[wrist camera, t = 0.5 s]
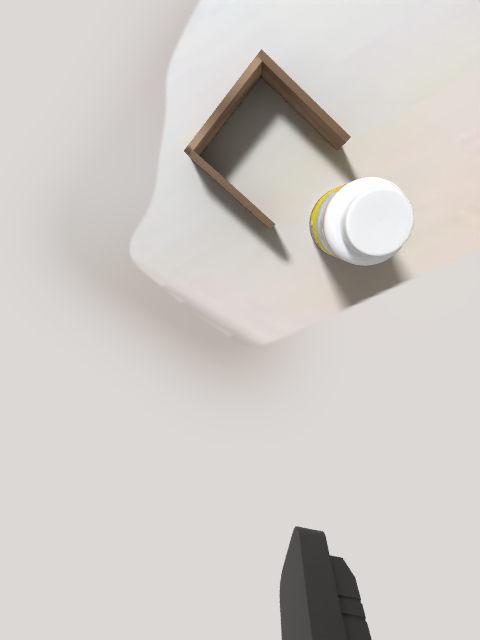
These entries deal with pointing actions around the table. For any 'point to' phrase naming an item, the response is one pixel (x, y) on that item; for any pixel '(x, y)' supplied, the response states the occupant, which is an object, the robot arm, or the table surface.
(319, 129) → the walnut u rest
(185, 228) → the table surface
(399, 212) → the supplement bottle
